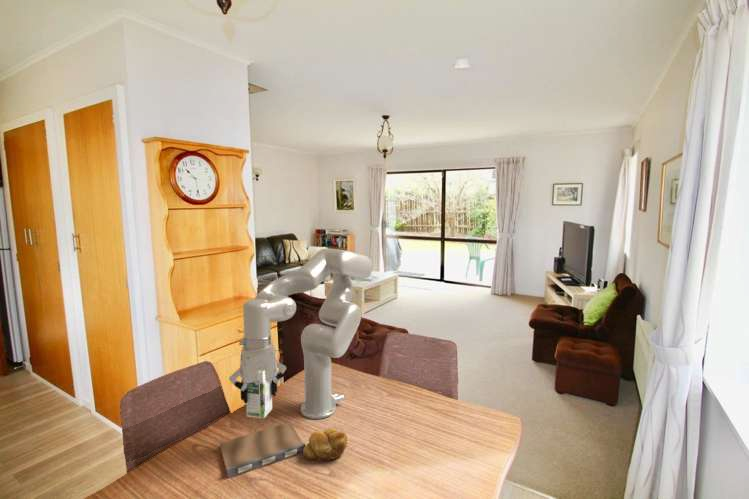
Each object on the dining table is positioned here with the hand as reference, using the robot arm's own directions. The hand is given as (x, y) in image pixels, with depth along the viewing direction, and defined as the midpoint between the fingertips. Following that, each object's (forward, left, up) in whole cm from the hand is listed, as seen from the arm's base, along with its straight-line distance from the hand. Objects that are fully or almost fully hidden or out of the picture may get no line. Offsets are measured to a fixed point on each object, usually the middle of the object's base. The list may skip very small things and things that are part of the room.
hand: (259, 397), depth 113 cm
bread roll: (-16, +12, -16) cm, 26 cm away
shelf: (0, +1, -16) cm, 16 cm away
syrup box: (0, 0, -5) cm, 5 cm away
